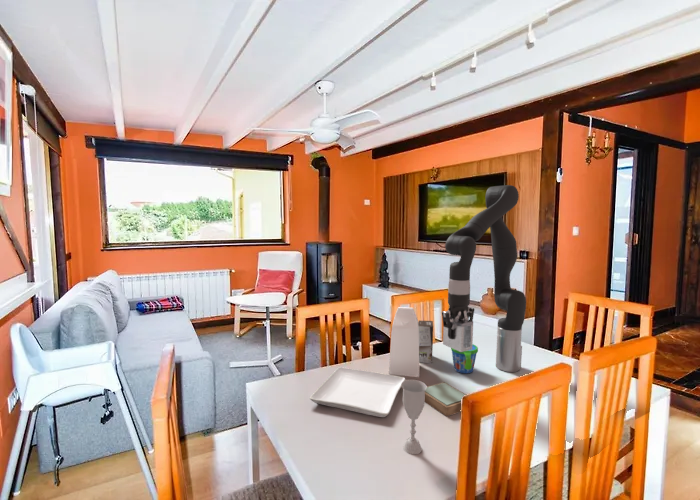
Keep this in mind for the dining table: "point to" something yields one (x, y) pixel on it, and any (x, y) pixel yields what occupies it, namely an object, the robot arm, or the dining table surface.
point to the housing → (460, 336)
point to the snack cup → (464, 359)
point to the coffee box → (425, 341)
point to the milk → (404, 343)
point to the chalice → (413, 410)
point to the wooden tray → (444, 398)
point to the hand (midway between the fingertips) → (457, 337)
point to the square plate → (359, 391)
